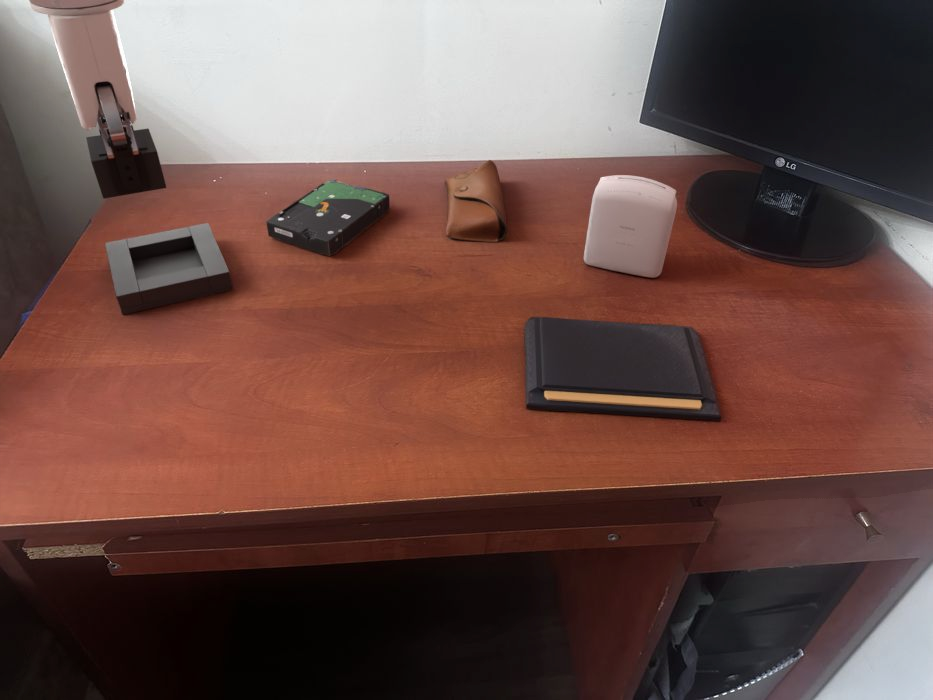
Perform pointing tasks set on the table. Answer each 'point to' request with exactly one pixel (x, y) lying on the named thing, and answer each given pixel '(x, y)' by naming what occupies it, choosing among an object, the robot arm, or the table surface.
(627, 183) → the photo printer
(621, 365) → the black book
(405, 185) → the table surface
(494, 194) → the sunglasses case
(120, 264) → the docking pad
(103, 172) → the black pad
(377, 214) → the disk drive
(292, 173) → the table surface
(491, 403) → the table surface
